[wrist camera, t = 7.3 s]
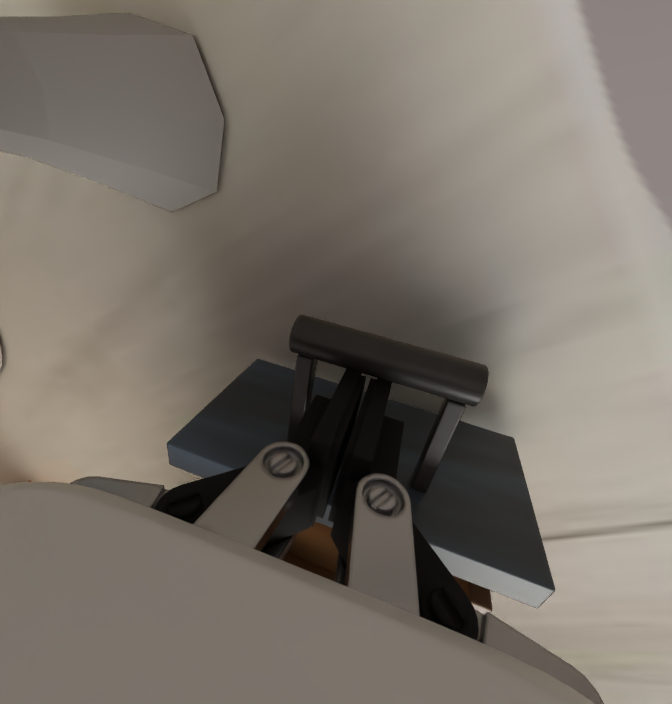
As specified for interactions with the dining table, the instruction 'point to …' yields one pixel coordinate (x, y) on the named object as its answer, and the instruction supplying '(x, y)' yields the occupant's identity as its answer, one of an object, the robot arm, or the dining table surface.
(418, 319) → the dining table surface
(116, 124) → the flask
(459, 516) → the drawer
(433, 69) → the dining table surface
